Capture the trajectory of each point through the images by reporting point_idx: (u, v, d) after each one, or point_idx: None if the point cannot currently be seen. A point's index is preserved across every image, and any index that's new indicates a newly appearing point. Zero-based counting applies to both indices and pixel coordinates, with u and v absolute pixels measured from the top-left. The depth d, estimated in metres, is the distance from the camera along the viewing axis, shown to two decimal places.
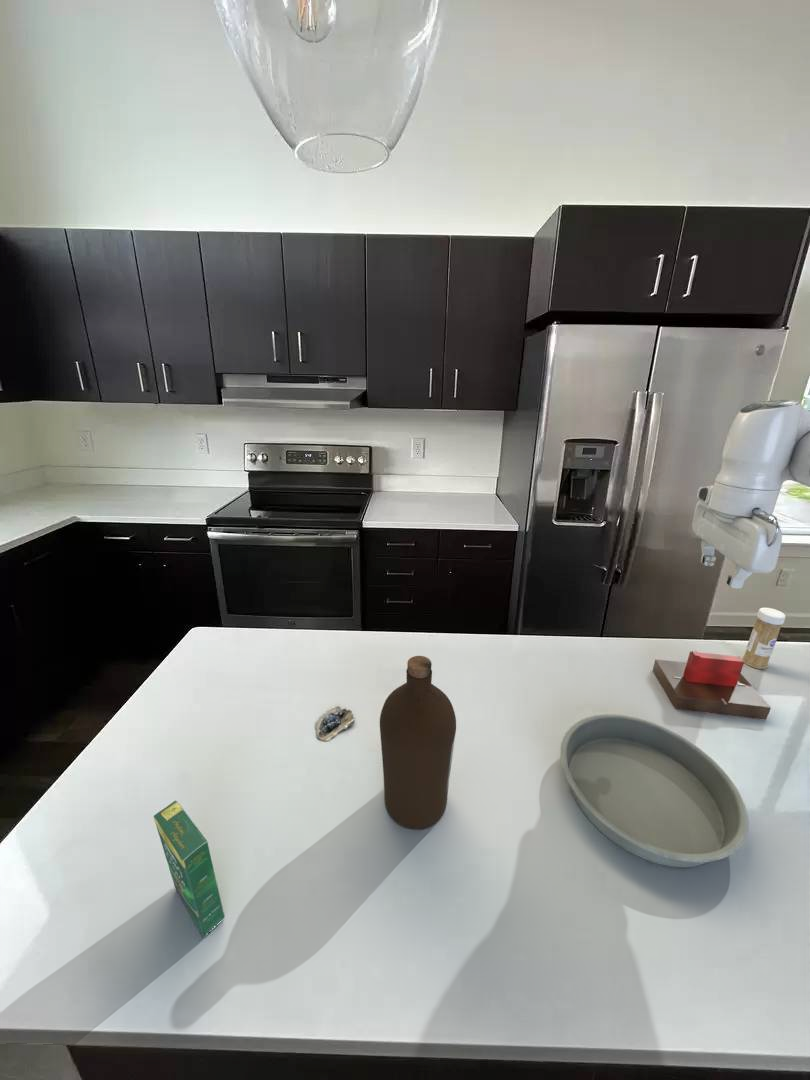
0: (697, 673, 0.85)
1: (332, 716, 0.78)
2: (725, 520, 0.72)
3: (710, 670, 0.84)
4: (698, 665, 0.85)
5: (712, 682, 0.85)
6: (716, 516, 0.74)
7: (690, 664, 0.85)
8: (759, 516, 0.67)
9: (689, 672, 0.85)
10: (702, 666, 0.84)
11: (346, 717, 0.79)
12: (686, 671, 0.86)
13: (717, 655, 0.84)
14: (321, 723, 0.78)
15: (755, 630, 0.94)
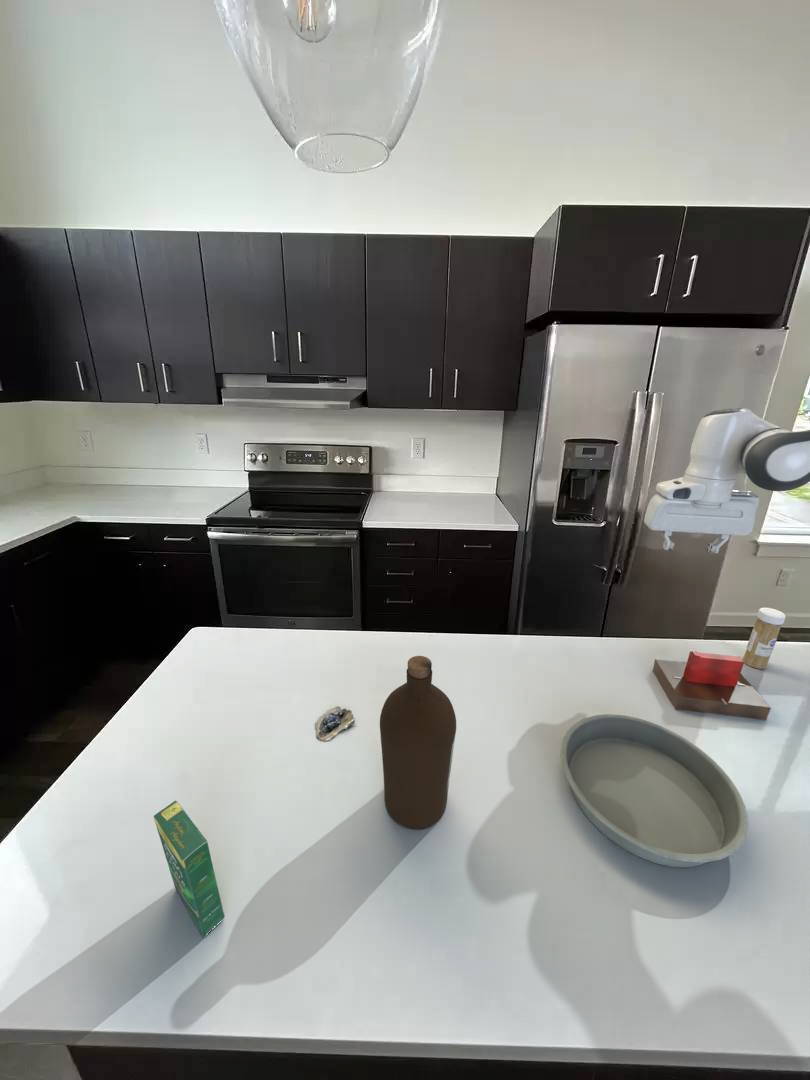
0: (697, 673, 0.85)
1: (332, 716, 0.78)
2: (717, 507, 0.87)
3: (710, 670, 0.84)
4: (698, 665, 0.85)
5: (712, 682, 0.85)
6: (709, 507, 0.87)
7: (690, 664, 0.85)
8: (739, 495, 0.88)
9: (689, 672, 0.85)
10: (702, 666, 0.84)
11: (346, 717, 0.79)
12: (686, 671, 0.86)
13: (717, 655, 0.84)
14: (321, 723, 0.78)
15: (755, 630, 0.94)
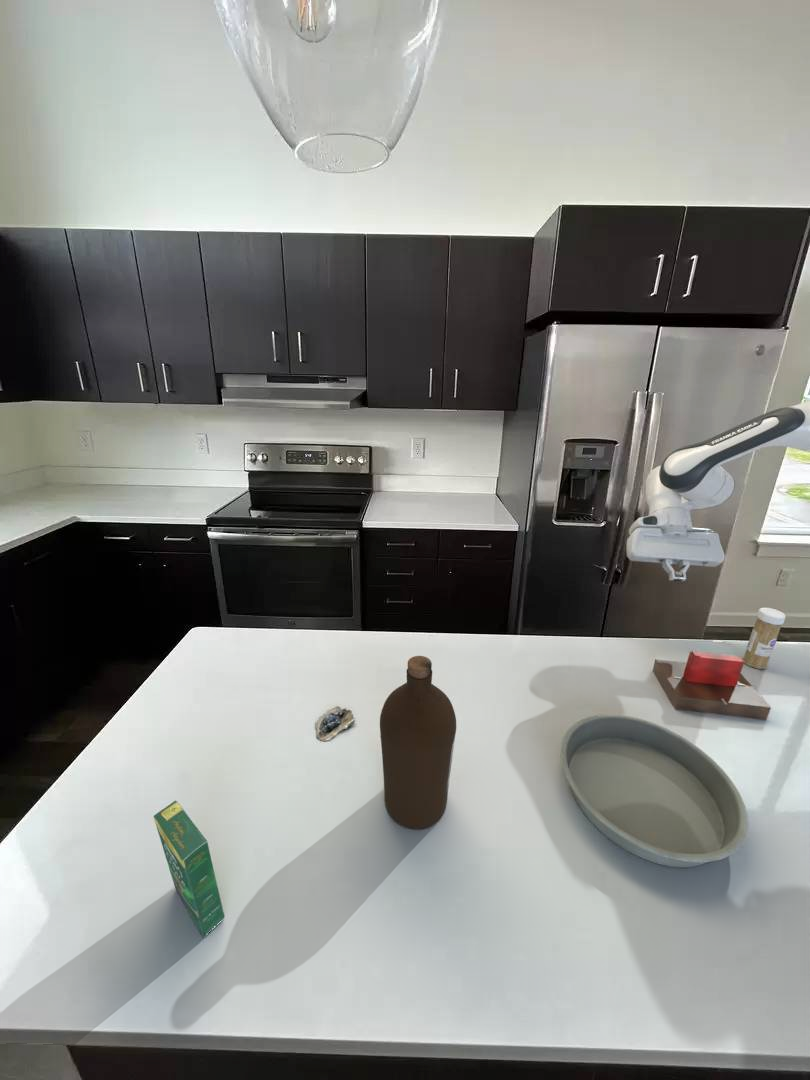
0: (697, 673, 0.85)
1: (332, 716, 0.78)
2: (685, 533, 1.00)
3: (710, 670, 0.84)
4: (698, 665, 0.85)
5: (712, 682, 0.85)
6: (677, 531, 0.99)
7: (690, 664, 0.85)
8: (699, 530, 1.02)
9: (689, 672, 0.85)
10: (702, 666, 0.84)
11: (346, 717, 0.79)
12: (686, 671, 0.86)
13: (717, 655, 0.84)
14: (321, 723, 0.78)
15: (755, 630, 0.94)
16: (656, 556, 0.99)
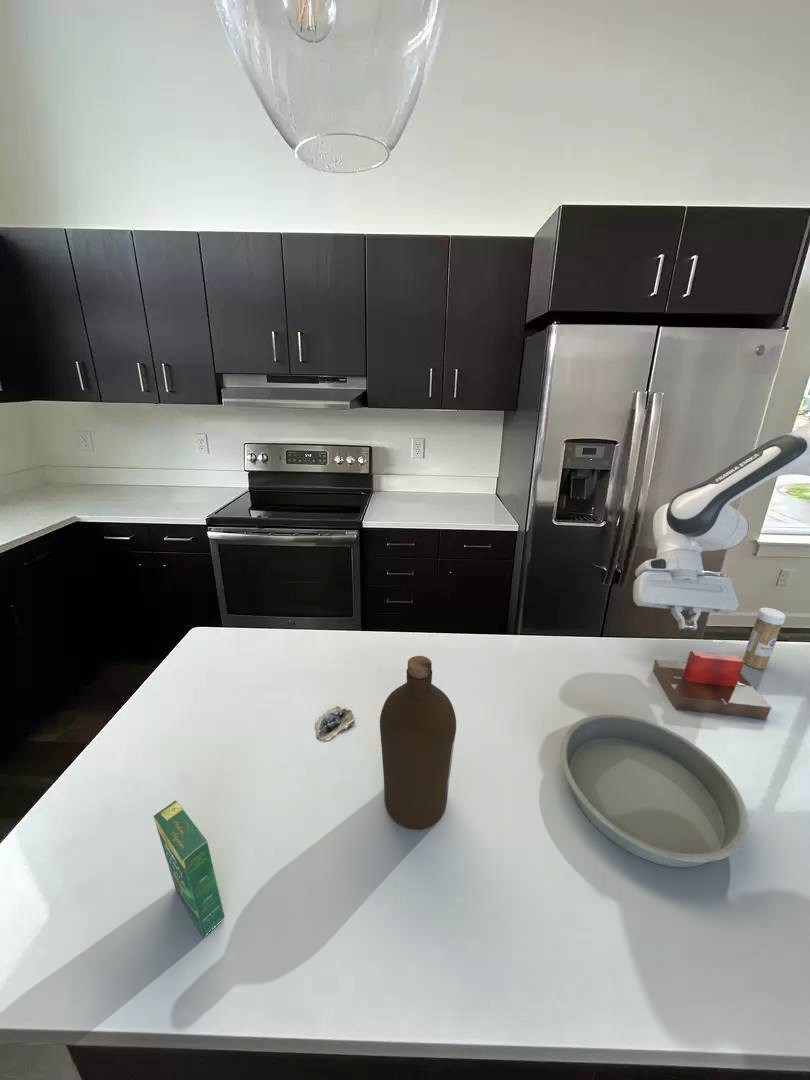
0: (697, 673, 0.85)
1: (332, 716, 0.78)
2: (695, 578, 0.94)
3: (710, 670, 0.84)
4: (698, 665, 0.85)
5: (712, 682, 0.85)
6: (687, 576, 0.93)
7: (690, 664, 0.85)
8: (711, 574, 0.96)
9: (689, 672, 0.85)
10: (702, 666, 0.84)
11: (346, 717, 0.79)
12: (686, 671, 0.86)
13: (717, 655, 0.84)
14: (321, 723, 0.78)
15: (755, 630, 0.94)
16: (665, 603, 0.93)
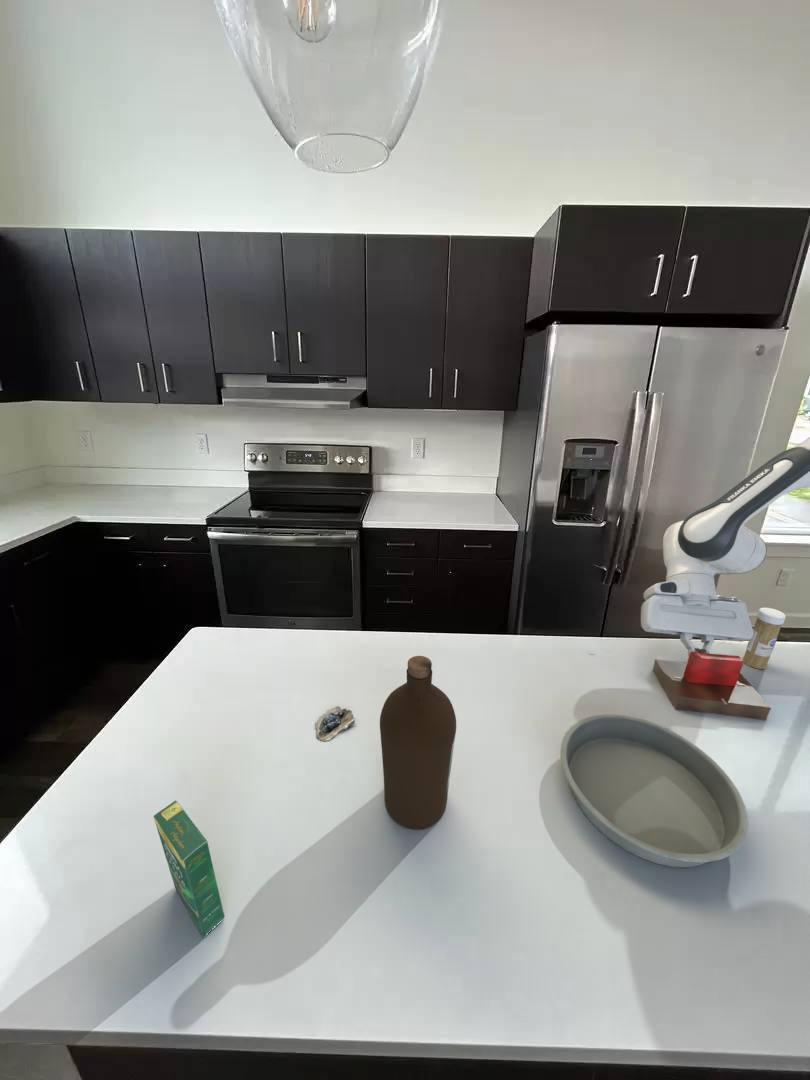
0: (698, 673, 0.85)
1: (332, 716, 0.78)
2: (708, 604, 0.88)
3: (710, 670, 0.84)
4: (699, 665, 0.84)
5: (712, 682, 0.85)
6: (699, 602, 0.88)
7: (691, 665, 0.85)
8: (724, 599, 0.90)
9: (689, 672, 0.85)
10: (702, 666, 0.84)
11: (346, 717, 0.79)
12: (687, 672, 0.86)
13: (717, 655, 0.85)
14: (321, 723, 0.78)
15: (755, 630, 0.94)
16: (675, 629, 0.88)
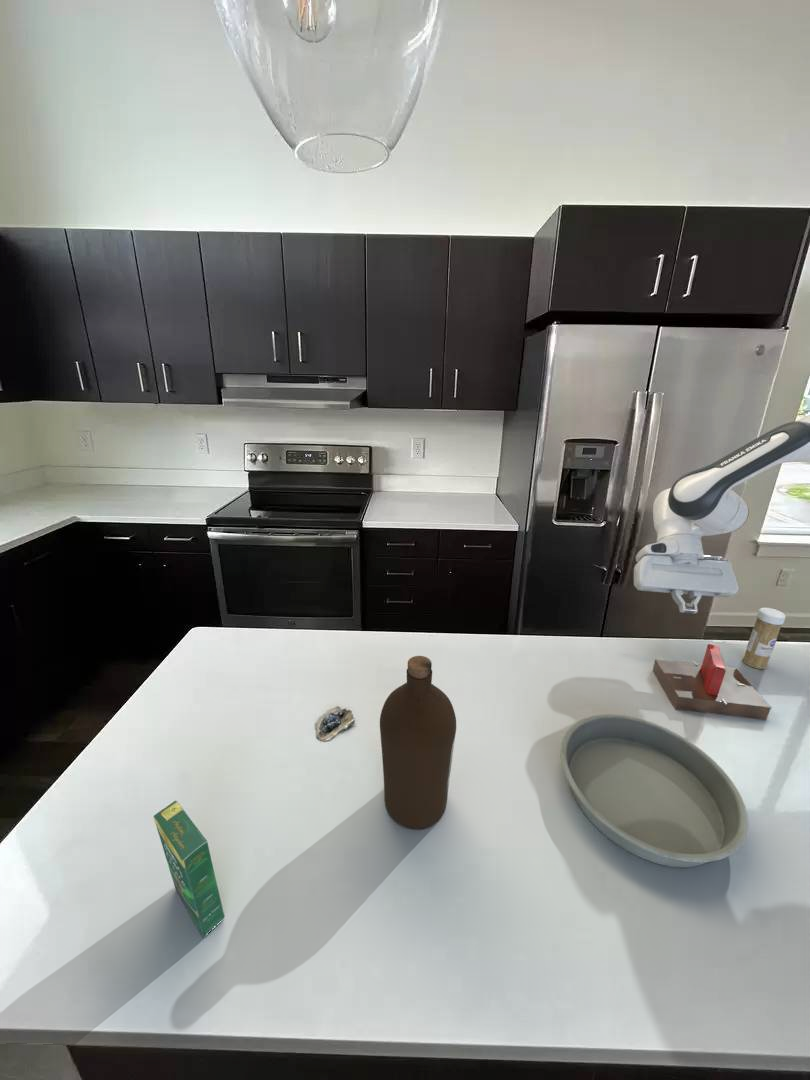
0: None
1: (332, 716, 0.78)
2: (696, 562, 0.94)
3: None
4: None
5: None
6: (688, 560, 0.94)
7: (720, 679, 0.81)
8: (711, 558, 0.96)
9: (719, 686, 0.81)
10: None
11: (346, 717, 0.79)
12: (713, 687, 0.82)
13: (714, 654, 0.85)
14: (321, 723, 0.78)
15: (755, 630, 0.94)
16: (665, 586, 0.93)
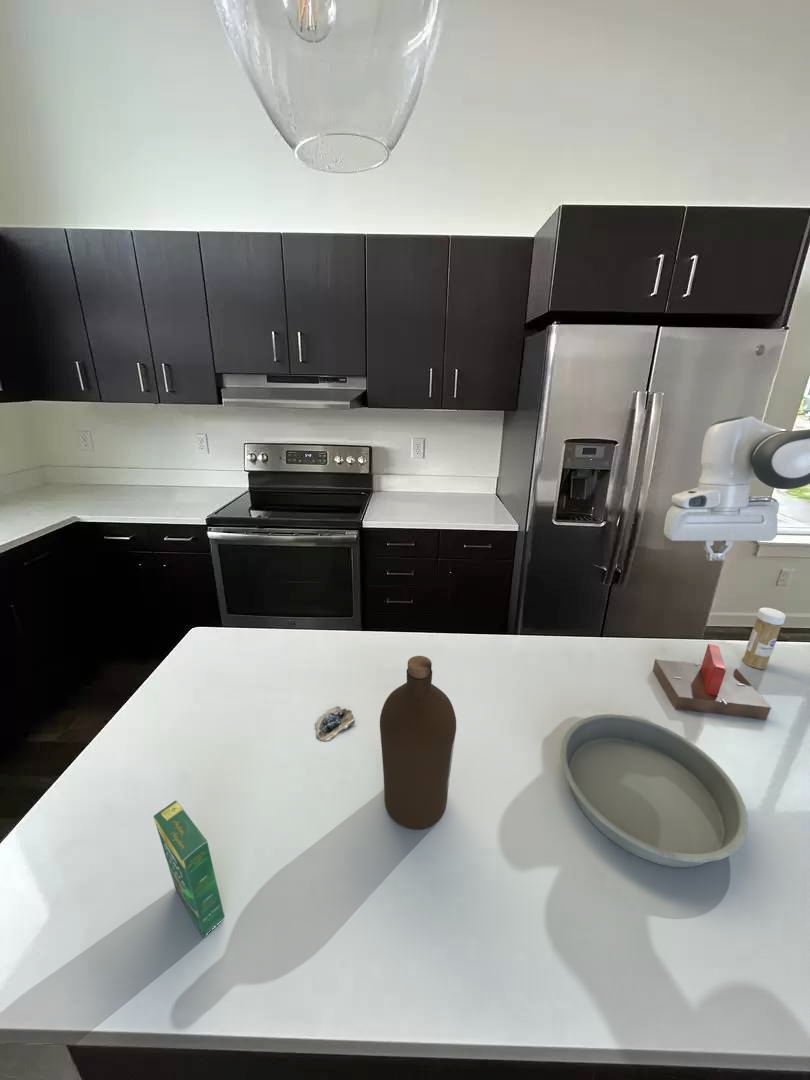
0: None
1: (332, 716, 0.78)
2: (736, 513, 0.87)
3: None
4: None
5: None
6: (728, 513, 0.87)
7: (720, 679, 0.81)
8: (757, 500, 0.88)
9: (719, 686, 0.81)
10: None
11: (346, 717, 0.79)
12: (713, 687, 0.82)
13: (714, 654, 0.85)
14: (321, 723, 0.78)
15: (755, 630, 0.94)
16: (696, 540, 0.91)
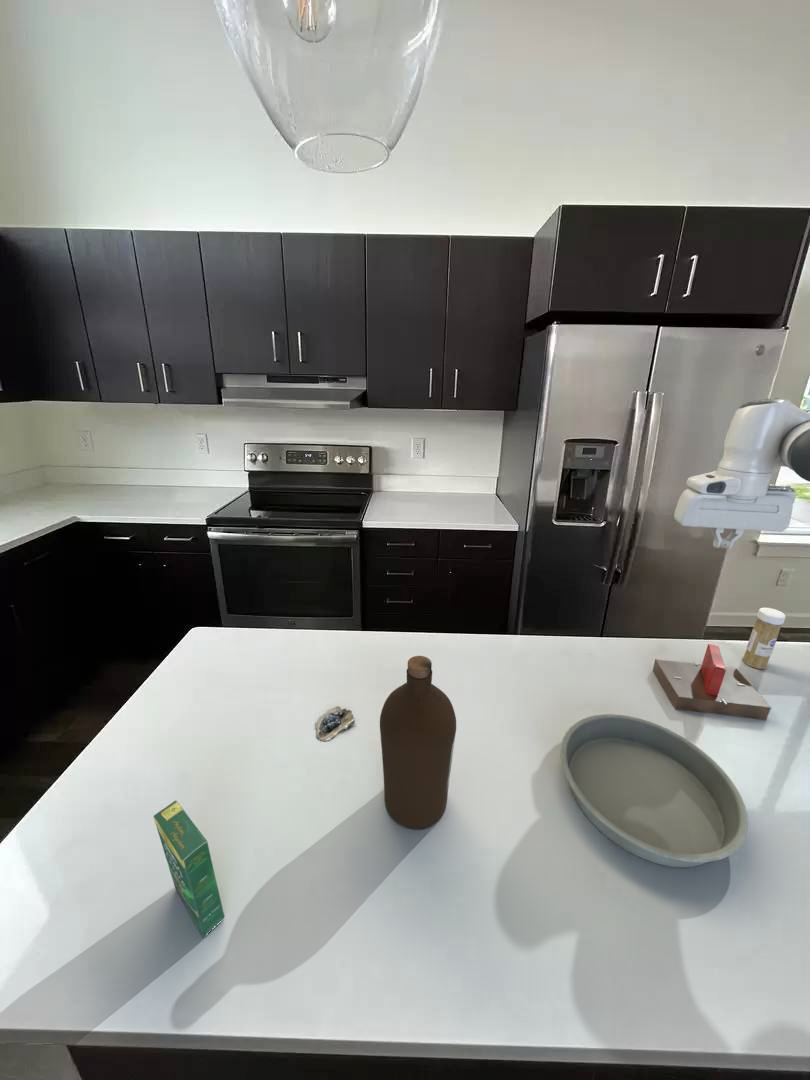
0: None
1: (332, 716, 0.78)
2: (753, 502, 0.84)
3: None
4: None
5: None
6: (744, 501, 0.84)
7: (720, 679, 0.81)
8: (775, 489, 0.84)
9: (719, 686, 0.81)
10: None
11: (346, 717, 0.79)
12: (713, 687, 0.82)
13: (714, 654, 0.85)
14: (321, 723, 0.78)
15: (755, 630, 0.94)
16: (707, 526, 0.88)
